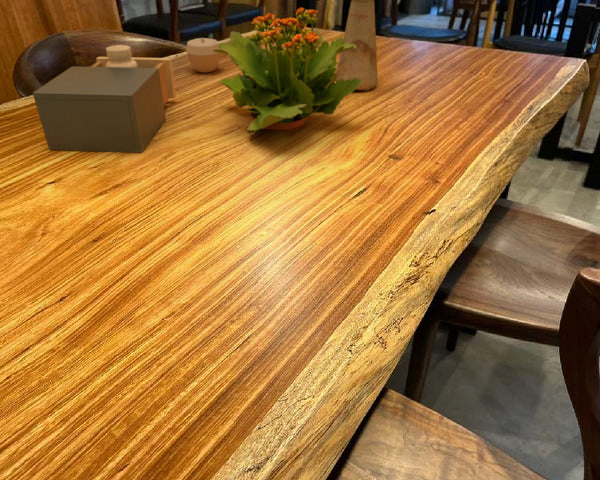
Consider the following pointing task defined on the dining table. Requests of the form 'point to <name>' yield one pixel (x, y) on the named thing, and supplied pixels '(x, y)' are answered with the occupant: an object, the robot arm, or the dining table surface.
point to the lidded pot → (203, 54)
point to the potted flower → (286, 72)
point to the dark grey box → (101, 109)
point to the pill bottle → (120, 57)
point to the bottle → (360, 46)
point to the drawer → (160, 63)
